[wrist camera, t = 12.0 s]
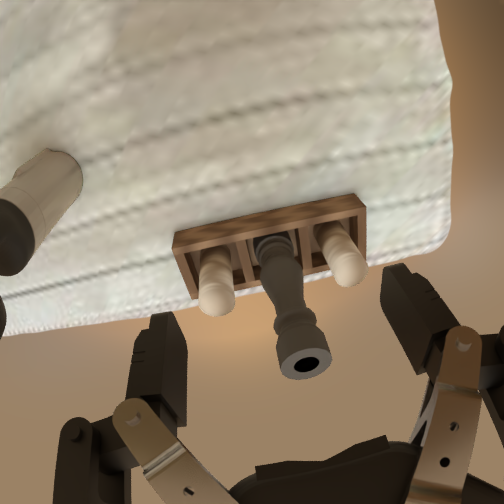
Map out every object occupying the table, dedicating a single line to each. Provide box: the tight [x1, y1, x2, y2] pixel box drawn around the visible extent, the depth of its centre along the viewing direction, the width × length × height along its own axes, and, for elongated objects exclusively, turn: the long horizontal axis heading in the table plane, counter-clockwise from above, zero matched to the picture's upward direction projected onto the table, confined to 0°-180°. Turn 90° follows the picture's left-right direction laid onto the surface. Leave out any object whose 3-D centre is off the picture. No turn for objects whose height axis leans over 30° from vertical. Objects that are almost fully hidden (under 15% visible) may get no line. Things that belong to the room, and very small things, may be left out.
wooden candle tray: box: [172, 194, 368, 316], centre depth 49 cm, size 30×10×13 cm, turn 101°
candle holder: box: [253, 231, 332, 380], centre depth 43 cm, size 6×6×25 cm
